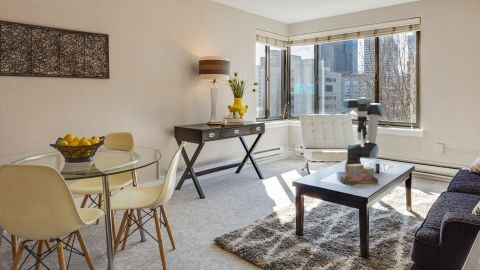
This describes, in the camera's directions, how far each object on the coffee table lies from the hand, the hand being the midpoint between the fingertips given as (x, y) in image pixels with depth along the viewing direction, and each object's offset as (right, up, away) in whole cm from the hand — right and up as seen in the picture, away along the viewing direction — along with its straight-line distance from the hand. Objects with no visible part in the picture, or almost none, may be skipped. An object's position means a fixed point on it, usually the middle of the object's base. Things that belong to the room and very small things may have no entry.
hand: (361, 141), depth 287 cm
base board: (-8, -32, -16) cm, 36 cm away
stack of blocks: (-7, -31, -15) cm, 35 cm away
